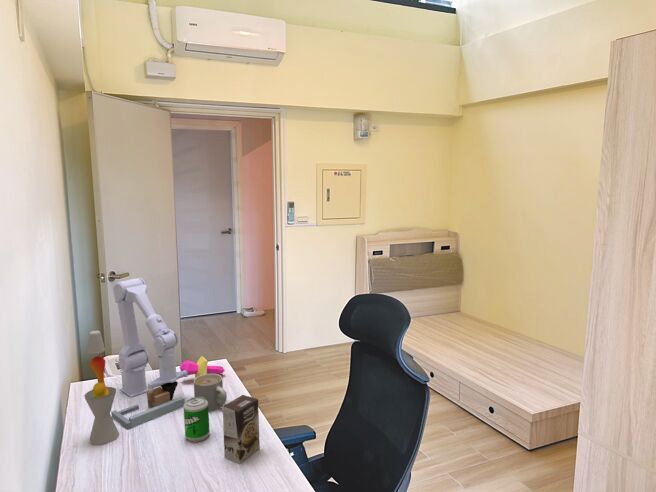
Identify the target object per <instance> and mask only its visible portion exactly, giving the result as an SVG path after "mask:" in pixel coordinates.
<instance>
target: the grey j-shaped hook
mask: <svg viewBox="0 0 656 492" xmlns="http://www.w3.org/2000/svg"><path fill="white" fill-rule="evenodd" d="M185 399H186V398H185V397H183V396H180V397H176V398H173V400H171V401H169V402H166V403H164V404H161V405H158V406H156V407H153V408H151V409H150V408H148V409H147V410H143V411H141V412H138V413H136V414H133V415H131V416H129V417H128V418H127V417H125V416H124V415H127V414H129V413H132V412H134V411H138V410H140V405H139V404H134V405H132V406H129V407H126V408H124V409H121V410H119V411H118V410H116V409H115V410H111V412H110V415H111V417H112V419H114V420H115V421H116V422H117V423H118V424H120V425H121V426H122V427H124V428H125V429H126V430H130V429H132V428H135V427H137V426H140V425H143V424H144V423H147V422H149V421H152V420H154V419H157V418H160V417H161V416H165V415H167V414H169V413H171V412H174V411H177V410H179V409H181V408H183V405H184V404H185V403H186V401H185Z"/></svg>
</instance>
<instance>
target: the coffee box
mask: <svg viewBox="0 0 656 492" xmlns="http://www.w3.org/2000/svg"><path fill="white" fill-rule="evenodd" d="M259 414H260V413H259V399H258V398H256V397H251V396H247V395H245V394H242V395H240V396H239V397H237V398H235V399H233V400H231V401H230V402H228V403H226V404H223V406H222V422H223V426H222V427H223V447H224V448H223V450H224V458H226V459H228V460H231V461H233V462H234V463H235V462H236V463H237V464H241V463H243V462H244V461H246V460H247V459H248V458H249V457H250V456H252V455H254V453H256V452H257V451H258V450H260V448H261V447H260V445H261V444H260V443H261V442H260V419H259V418H260V416H259Z"/></svg>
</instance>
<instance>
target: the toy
mask: <svg viewBox="0 0 656 492" xmlns="http://www.w3.org/2000/svg"><path fill="white" fill-rule="evenodd" d="M179 369H180V371H184V370H185V371H187V372H188V376H191V375H193V376H194V377H195V378H196V377H198V376H200V375H204V374H219V375H222V374H223V373H224V372H225V368H224V367H223V366H221V365H208V360H207V359H206V358H205V357H204V356H202V355H201V356H200V357H199V359H198V360H197V361H196V362H194V361H191V360H187V359H186V360H185V361H183V362H182V363H181V365H180V366H179ZM195 378H194V379H195Z"/></svg>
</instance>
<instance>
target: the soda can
mask: <svg viewBox="0 0 656 492" xmlns="http://www.w3.org/2000/svg"><path fill="white" fill-rule="evenodd" d="M182 408H183V418H184V419H183V420H184V436H185V438H186V440H188V441H190V442H192V443H196V442H201V441H203V440H205V439H207V437H208V436H209V435H210V432H211V431H210V430H211V429H210V419H209V418H210V415H209V413H210V412H208V401H207V400H205V399H204V398H203V397H191V398H188V399H187V400H186V401H185V404H184V405H183V407H182Z"/></svg>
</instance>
